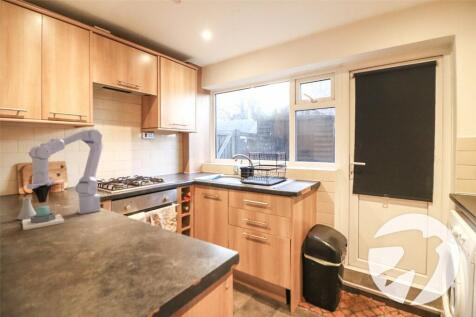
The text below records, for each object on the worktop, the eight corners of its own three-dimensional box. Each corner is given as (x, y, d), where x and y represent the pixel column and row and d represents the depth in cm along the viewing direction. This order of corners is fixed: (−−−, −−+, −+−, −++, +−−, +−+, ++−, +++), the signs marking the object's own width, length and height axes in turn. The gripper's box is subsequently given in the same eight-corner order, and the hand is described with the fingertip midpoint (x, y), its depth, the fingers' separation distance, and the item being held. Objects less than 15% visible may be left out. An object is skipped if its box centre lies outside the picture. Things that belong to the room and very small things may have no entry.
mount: (60, 216, 121) (59, 209, 120) (64, 222, 110) (63, 215, 110) (22, 222, 111) (22, 215, 111) (23, 230, 101) (22, 222, 101)
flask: (41, 216, 122) (40, 196, 121) (27, 220, 114) (26, 199, 114) (27, 215, 122) (27, 196, 122) (13, 220, 115) (12, 199, 115)
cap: (52, 218, 113) (51, 205, 113) (44, 221, 108) (44, 208, 108) (41, 218, 113) (41, 205, 113) (33, 221, 108) (33, 208, 108)
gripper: (38, 174, 103) (40, 205, 103) (60, 170, 117) (61, 198, 118) (21, 174, 102) (22, 206, 103) (45, 171, 117) (46, 199, 117)
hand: (42, 202), depth 110 cm, fingers closed
